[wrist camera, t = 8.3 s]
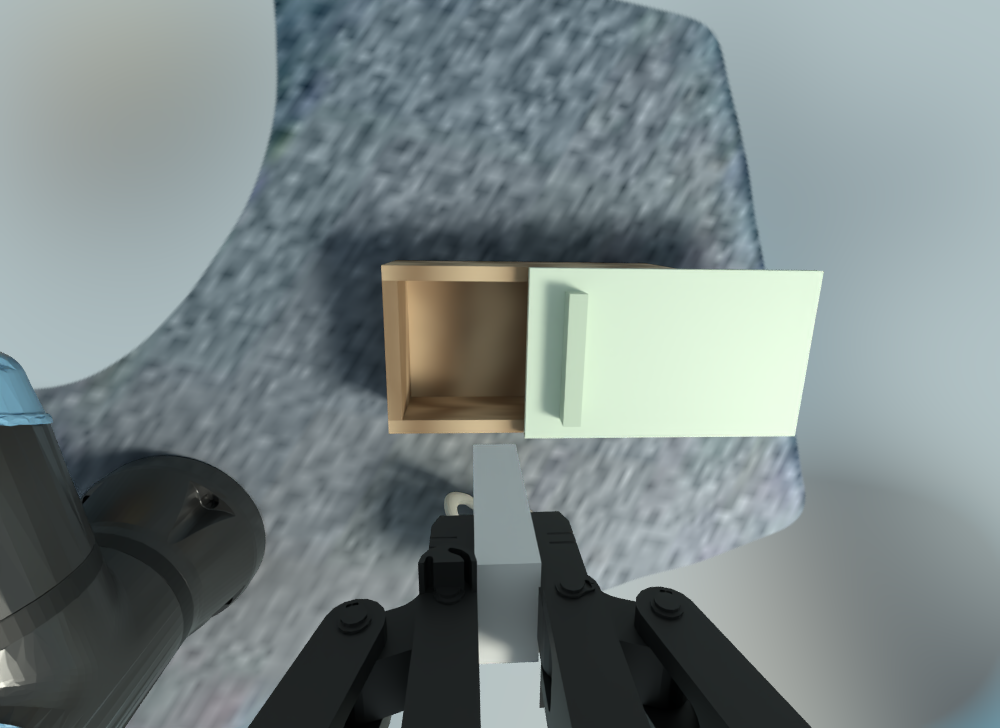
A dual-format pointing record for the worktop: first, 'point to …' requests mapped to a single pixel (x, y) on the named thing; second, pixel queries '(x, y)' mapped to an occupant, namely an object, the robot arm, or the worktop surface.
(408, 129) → the worktop surface
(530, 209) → the worktop surface
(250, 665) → the worktop surface
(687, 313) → the lid
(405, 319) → the lid box
